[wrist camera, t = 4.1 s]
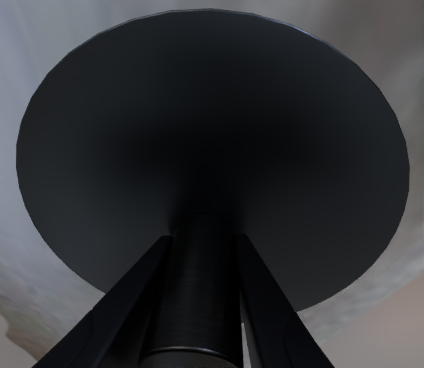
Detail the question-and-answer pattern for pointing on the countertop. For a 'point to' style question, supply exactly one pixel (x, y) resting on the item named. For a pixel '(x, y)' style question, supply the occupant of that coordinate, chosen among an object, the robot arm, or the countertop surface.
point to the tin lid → (212, 168)
